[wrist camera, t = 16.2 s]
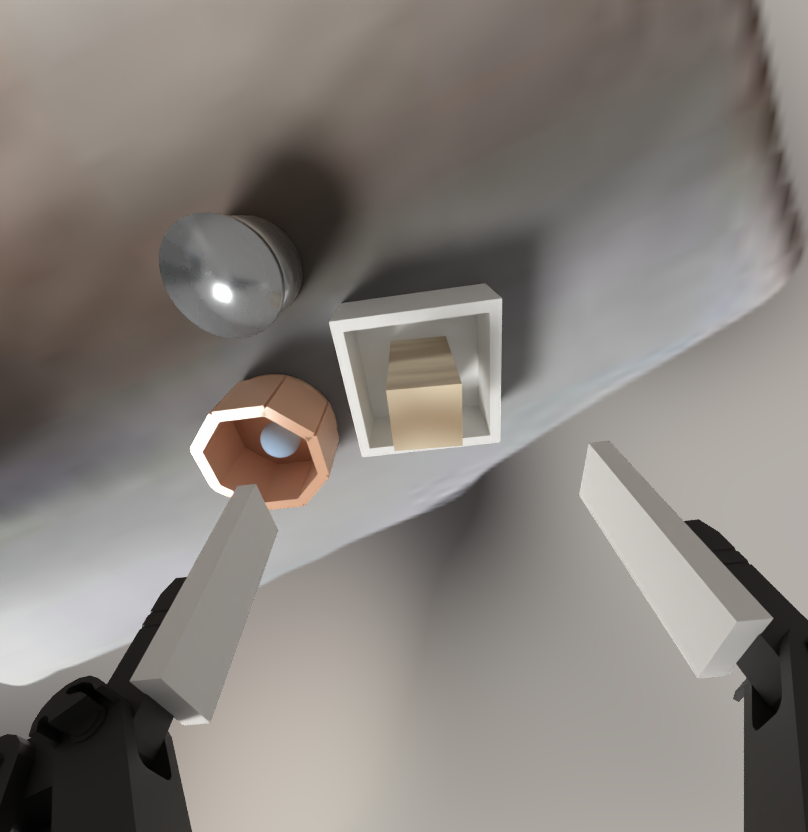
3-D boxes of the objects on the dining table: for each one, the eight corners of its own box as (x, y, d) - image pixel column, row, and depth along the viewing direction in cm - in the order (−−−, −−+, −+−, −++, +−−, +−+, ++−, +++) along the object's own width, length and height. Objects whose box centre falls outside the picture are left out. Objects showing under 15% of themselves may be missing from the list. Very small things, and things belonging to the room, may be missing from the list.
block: (390, 341, 25) (386, 390, 18) (445, 335, 25) (462, 383, 18) (396, 390, 27) (394, 451, 20) (447, 385, 27) (462, 445, 20)
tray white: (341, 302, 24) (328, 321, 20) (484, 282, 24) (502, 298, 19) (367, 421, 29) (362, 457, 25) (485, 407, 29) (500, 442, 24)
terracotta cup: (210, 381, 27) (170, 417, 22) (322, 366, 27) (305, 400, 22) (252, 469, 32) (225, 514, 27) (347, 458, 31) (338, 502, 26)
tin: (190, 220, 21) (135, 223, 17) (288, 204, 21) (258, 203, 17) (230, 320, 25) (192, 345, 20) (315, 308, 24) (296, 331, 20)
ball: (285, 418, 25) (286, 459, 25) (307, 419, 28) (308, 456, 28) (251, 419, 26) (251, 459, 26) (276, 420, 29) (276, 455, 29)
